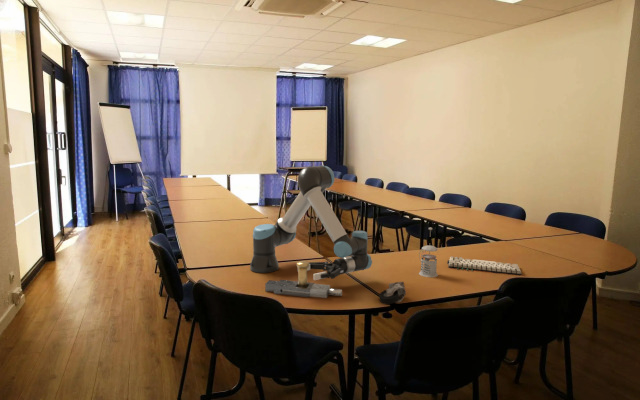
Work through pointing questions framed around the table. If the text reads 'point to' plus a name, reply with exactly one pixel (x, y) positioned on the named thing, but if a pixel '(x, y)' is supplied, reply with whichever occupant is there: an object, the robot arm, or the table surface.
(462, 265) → the mechanical keyboard
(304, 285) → the clevis pin
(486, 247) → the table surface
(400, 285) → the caster wheel
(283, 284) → the clevis
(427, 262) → the french press
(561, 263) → the table surface
